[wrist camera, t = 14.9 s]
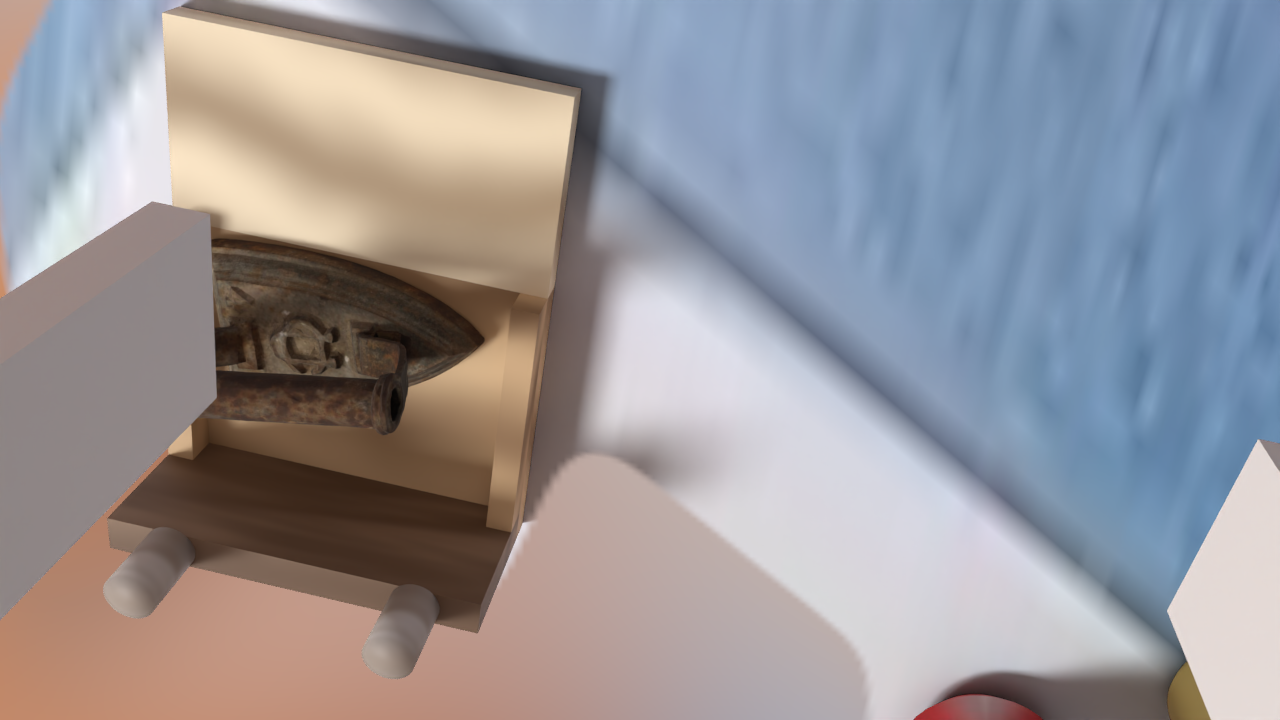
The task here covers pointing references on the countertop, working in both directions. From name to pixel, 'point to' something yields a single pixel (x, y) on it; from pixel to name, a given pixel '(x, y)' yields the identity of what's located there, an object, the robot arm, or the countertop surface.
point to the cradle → (398, 246)
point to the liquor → (977, 709)
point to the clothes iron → (323, 338)
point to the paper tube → (1185, 697)
